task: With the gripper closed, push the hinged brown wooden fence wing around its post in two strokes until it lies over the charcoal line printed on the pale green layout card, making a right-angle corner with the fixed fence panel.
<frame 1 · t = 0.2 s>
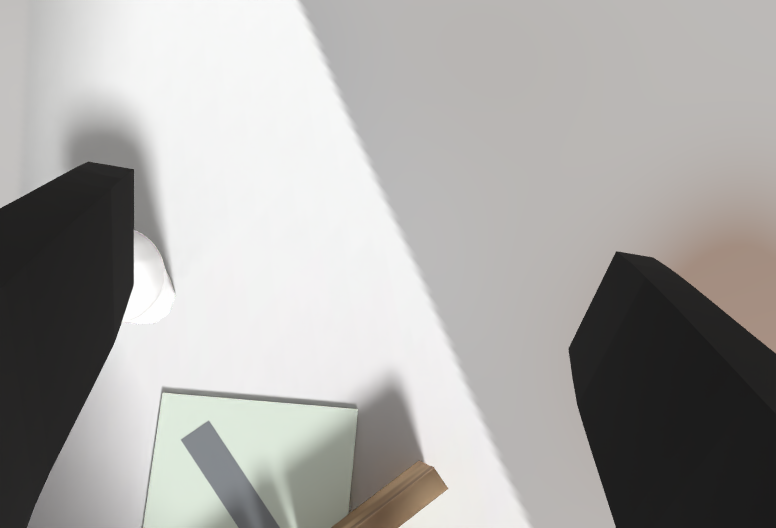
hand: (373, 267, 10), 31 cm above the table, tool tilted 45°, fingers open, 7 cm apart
fence wing: (372, 519, 37), point 3 cm above the table, hinge at 0.0°
milkshake: (140, 301, 40), on the table
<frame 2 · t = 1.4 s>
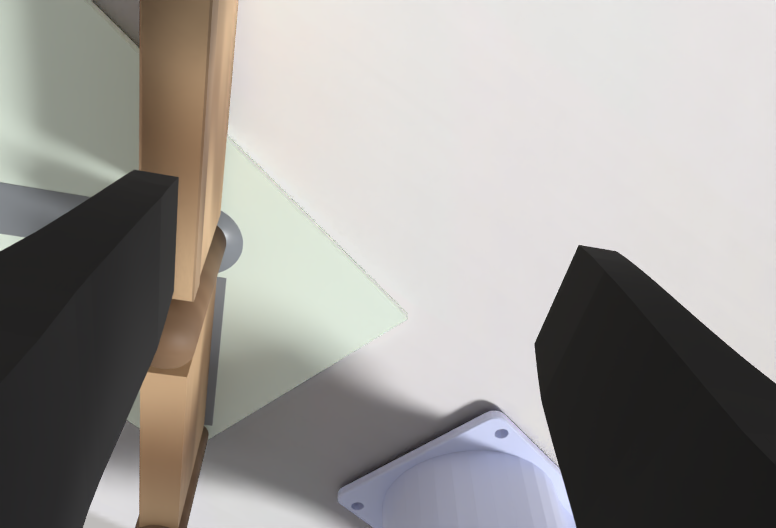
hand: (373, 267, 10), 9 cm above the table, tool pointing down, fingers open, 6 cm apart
fence wing: (191, 110, 16), point 3 cm above the table, hinge at 0.0°
fence fixed: (201, 234, 21), resting on layout card
layout card: (115, 250, 21), on the table
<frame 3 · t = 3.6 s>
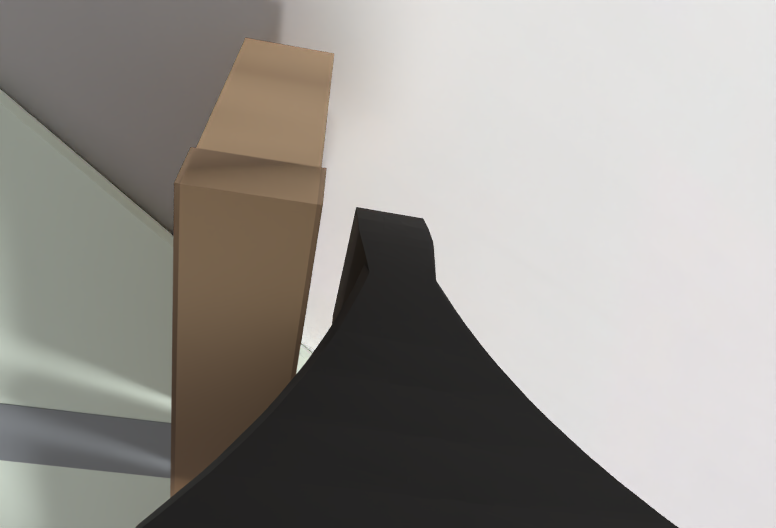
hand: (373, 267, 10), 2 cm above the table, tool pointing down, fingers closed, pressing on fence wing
fence wing: (248, 361, 10), point 3 cm above the table, hinge at 1.1°, touching gripper
layout card: (128, 468, 15), on the table
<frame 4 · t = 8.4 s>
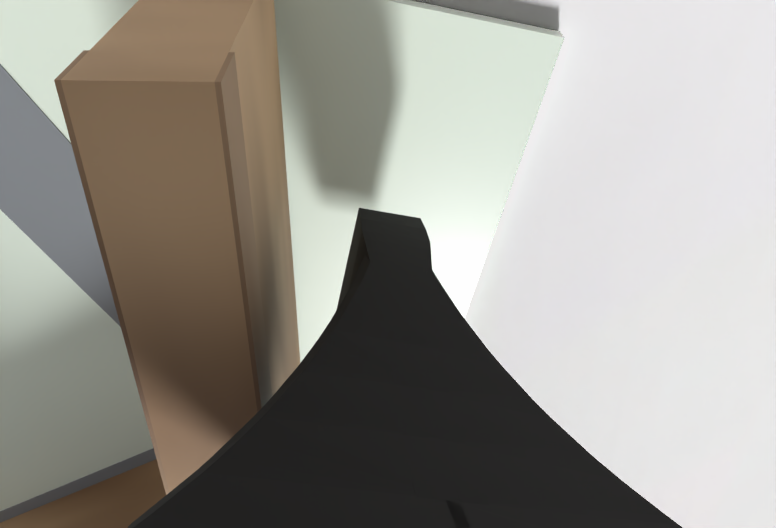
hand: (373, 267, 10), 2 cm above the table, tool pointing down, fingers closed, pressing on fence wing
fence wing: (233, 310, 9), point 3 cm above the table, hinge at 60.6°, touching gripper
fence fixed: (280, 421, 15), resting on layout card
layout card: (161, 364, 14), on the table
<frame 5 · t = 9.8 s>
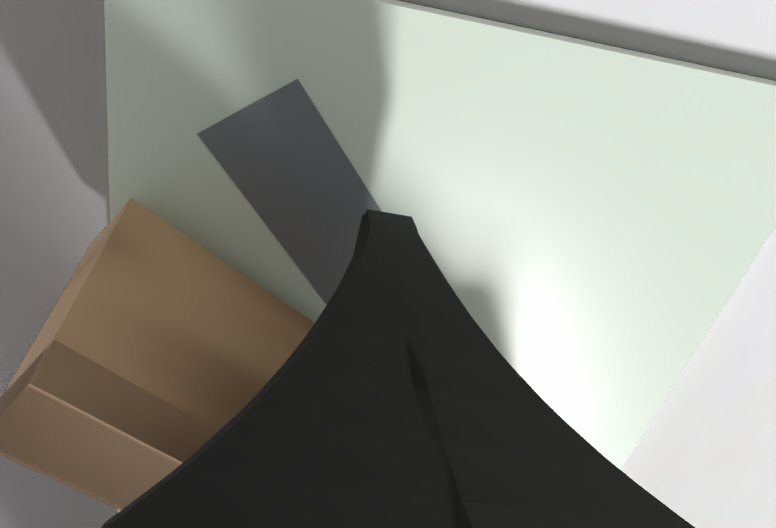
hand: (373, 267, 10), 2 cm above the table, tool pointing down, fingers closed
fence wing: (295, 435, 11), point 3 cm above the table, hinge at 107.7°, touching gripper
layout card: (391, 394, 14), on the table
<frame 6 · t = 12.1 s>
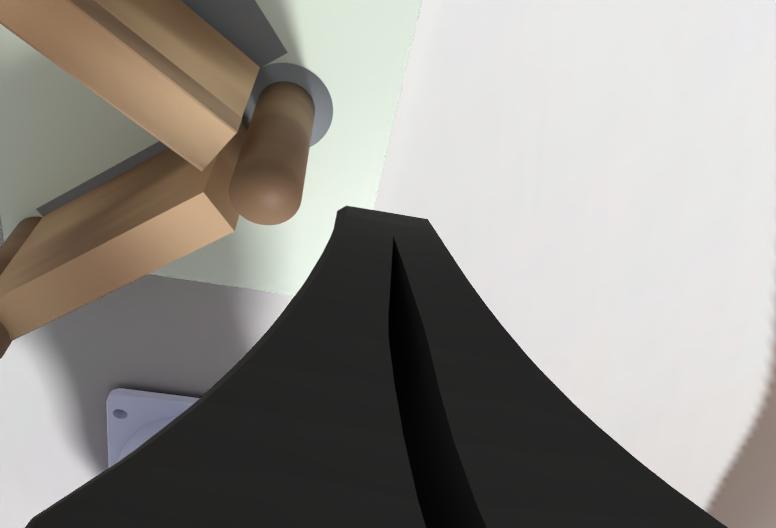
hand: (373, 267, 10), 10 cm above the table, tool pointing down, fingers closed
fence fixed: (286, 104, 19), resting on layout card
layout card: (198, 43, 18), on the table
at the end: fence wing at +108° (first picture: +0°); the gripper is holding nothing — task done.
